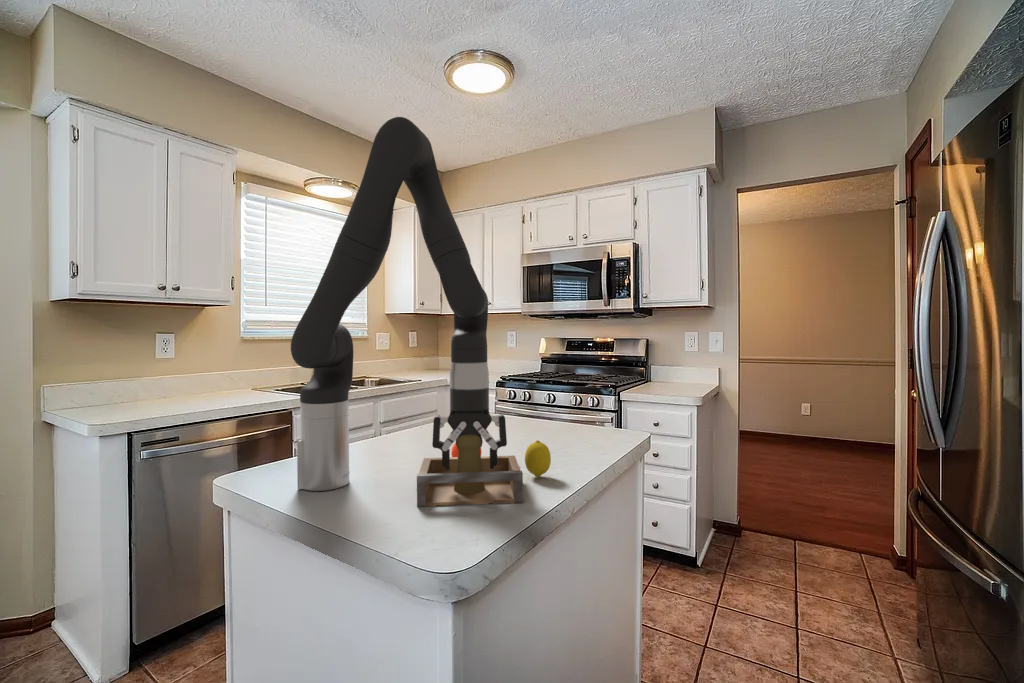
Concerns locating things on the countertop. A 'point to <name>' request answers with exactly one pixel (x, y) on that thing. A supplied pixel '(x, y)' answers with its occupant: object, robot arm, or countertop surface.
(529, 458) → the lemon
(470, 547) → the countertop surface
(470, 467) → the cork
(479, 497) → the box
